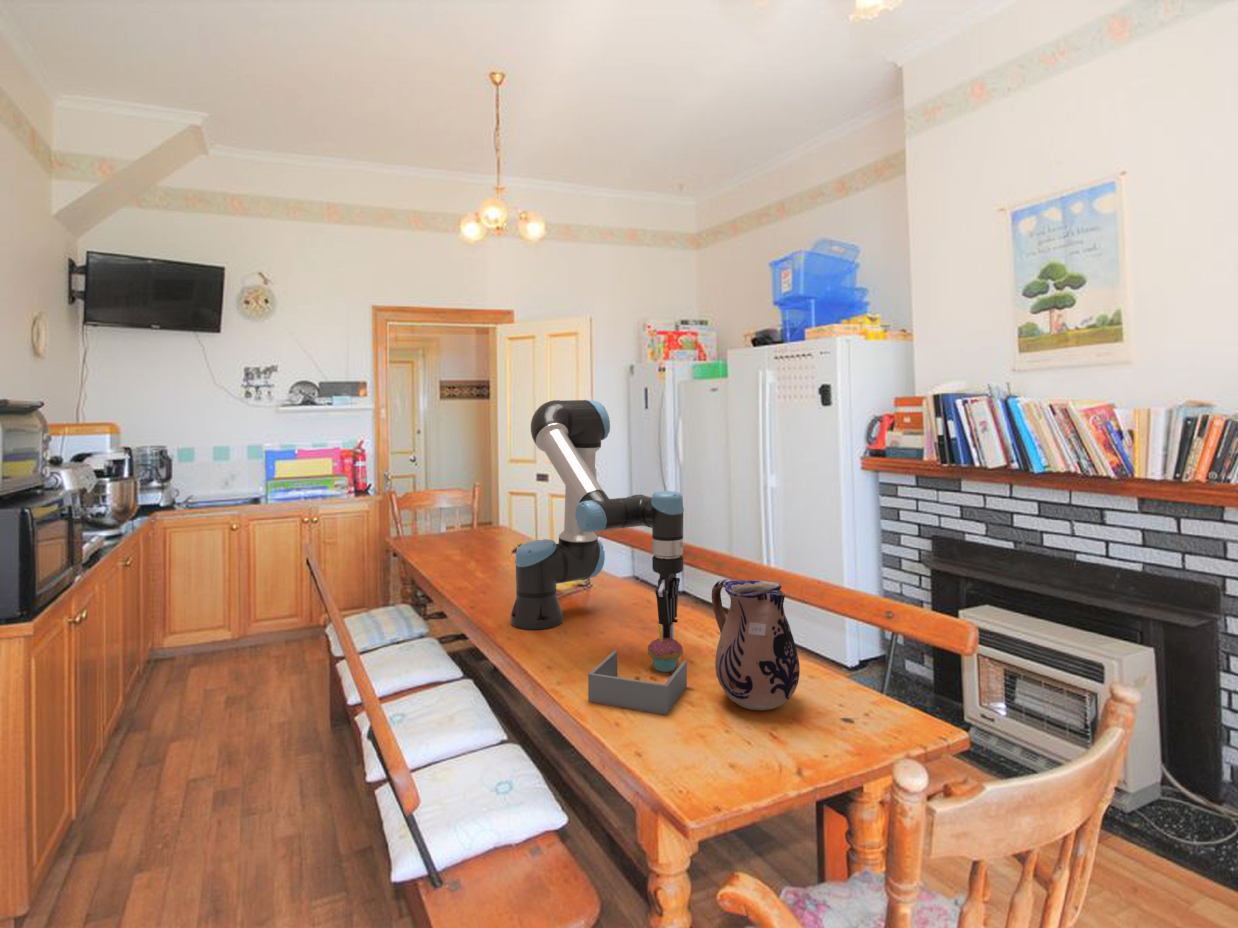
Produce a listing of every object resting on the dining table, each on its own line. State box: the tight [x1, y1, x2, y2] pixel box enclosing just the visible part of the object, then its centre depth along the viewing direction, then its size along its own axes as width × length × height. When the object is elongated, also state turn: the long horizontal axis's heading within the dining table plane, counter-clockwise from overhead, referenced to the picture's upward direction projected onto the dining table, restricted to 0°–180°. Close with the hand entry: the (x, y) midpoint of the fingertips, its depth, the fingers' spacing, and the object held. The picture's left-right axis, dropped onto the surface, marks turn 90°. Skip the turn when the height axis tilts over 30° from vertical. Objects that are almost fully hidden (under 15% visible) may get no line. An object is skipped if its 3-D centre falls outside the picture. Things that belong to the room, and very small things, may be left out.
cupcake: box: [647, 620, 684, 673], centre depth 161 cm, size 9×8×12 cm
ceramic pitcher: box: [711, 578, 801, 711], centre depth 143 cm, size 18×21×25 cm
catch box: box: [587, 650, 688, 716], centre depth 147 cm, size 18×15×6 cm
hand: (668, 649), depth 166 cm, fingers closed
